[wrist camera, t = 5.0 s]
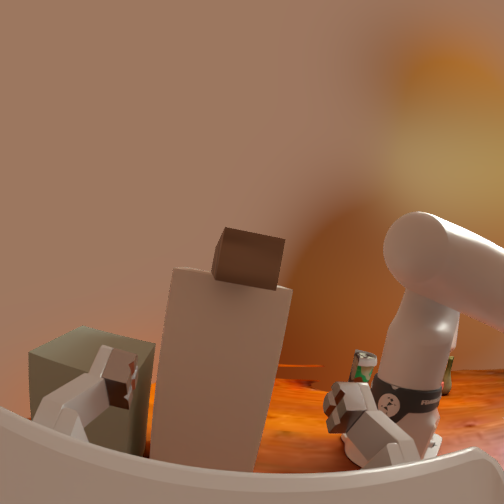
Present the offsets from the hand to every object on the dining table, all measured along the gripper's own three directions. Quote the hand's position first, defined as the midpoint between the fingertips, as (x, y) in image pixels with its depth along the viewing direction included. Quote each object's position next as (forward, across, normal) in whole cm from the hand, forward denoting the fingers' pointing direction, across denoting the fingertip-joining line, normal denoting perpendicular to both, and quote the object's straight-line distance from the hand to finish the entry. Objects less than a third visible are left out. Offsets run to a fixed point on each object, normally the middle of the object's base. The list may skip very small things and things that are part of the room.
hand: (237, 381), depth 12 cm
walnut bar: (+16, 0, -5) cm, 17 cm away
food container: (+44, +45, -52) cm, 81 cm away
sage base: (+5, -12, -29) cm, 32 cm away
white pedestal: (+7, 0, -30) cm, 31 cm away
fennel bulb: (+38, +72, -48) cm, 94 cm away
